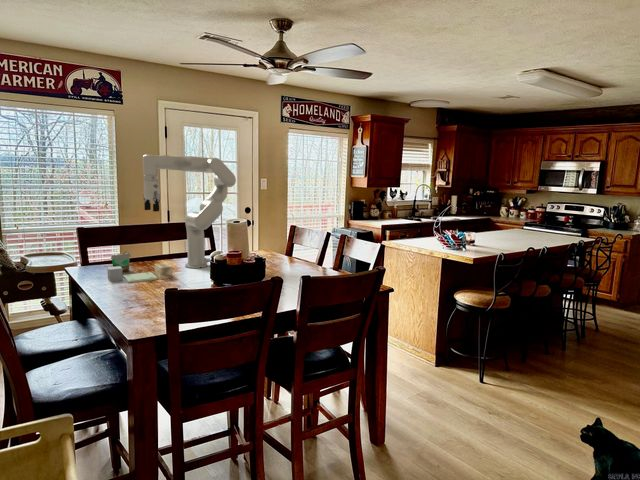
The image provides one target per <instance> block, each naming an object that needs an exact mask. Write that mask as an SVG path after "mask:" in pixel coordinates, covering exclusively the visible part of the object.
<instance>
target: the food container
mask: <svg viewBox="0 0 640 480" xmlns="http://www.w3.org/2000/svg"><path fill="white" fill-rule="evenodd" d="M130 258H131V253H130V251H127V250H126V251H124V252H123V253H118V254H112V255H110V260H111V263H112V267H116V266H121V267H122V272H123V273H128V272H130Z"/></svg>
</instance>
